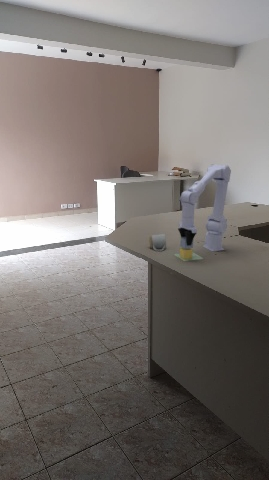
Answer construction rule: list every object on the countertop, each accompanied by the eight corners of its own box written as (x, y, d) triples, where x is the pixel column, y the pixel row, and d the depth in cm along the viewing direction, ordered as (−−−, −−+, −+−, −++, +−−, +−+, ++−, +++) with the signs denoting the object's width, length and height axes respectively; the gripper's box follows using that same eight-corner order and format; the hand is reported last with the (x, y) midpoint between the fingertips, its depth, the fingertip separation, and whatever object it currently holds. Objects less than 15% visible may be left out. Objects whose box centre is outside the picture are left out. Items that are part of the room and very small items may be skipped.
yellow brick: (179, 256, 181) (180, 247, 180) (187, 255, 183) (188, 246, 182) (183, 259, 177) (184, 250, 176) (192, 258, 179) (192, 249, 178)
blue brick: (180, 246, 180) (180, 237, 179) (188, 245, 181) (188, 236, 180) (184, 248, 176) (185, 239, 175) (192, 247, 177) (193, 238, 176)
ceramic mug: (148, 246, 199) (149, 232, 197) (163, 246, 200) (164, 232, 198) (152, 252, 189) (152, 238, 187) (167, 252, 190) (168, 238, 188)
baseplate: (173, 255, 185) (173, 254, 185) (192, 252, 189) (192, 252, 188) (183, 261, 175) (183, 261, 175) (203, 259, 179) (203, 258, 178)
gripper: (173, 214, 180) (172, 240, 183) (187, 220, 167) (186, 248, 170) (186, 213, 182) (185, 239, 186) (201, 219, 169) (199, 247, 173)
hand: (186, 243), depth 178 cm, fingers closed on blue brick, 4 cm apart
